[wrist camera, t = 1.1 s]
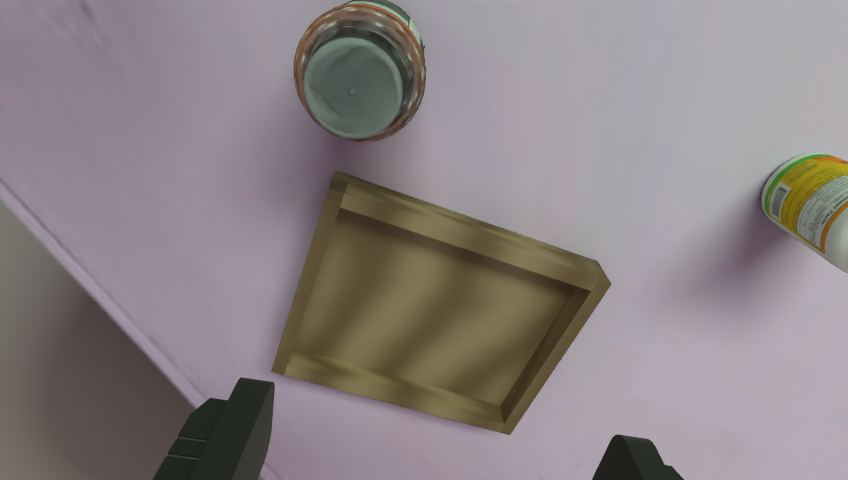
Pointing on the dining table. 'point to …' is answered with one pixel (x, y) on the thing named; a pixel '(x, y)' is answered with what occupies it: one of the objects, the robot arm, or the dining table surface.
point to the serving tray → (432, 307)
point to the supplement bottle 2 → (812, 204)
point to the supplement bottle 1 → (361, 70)
